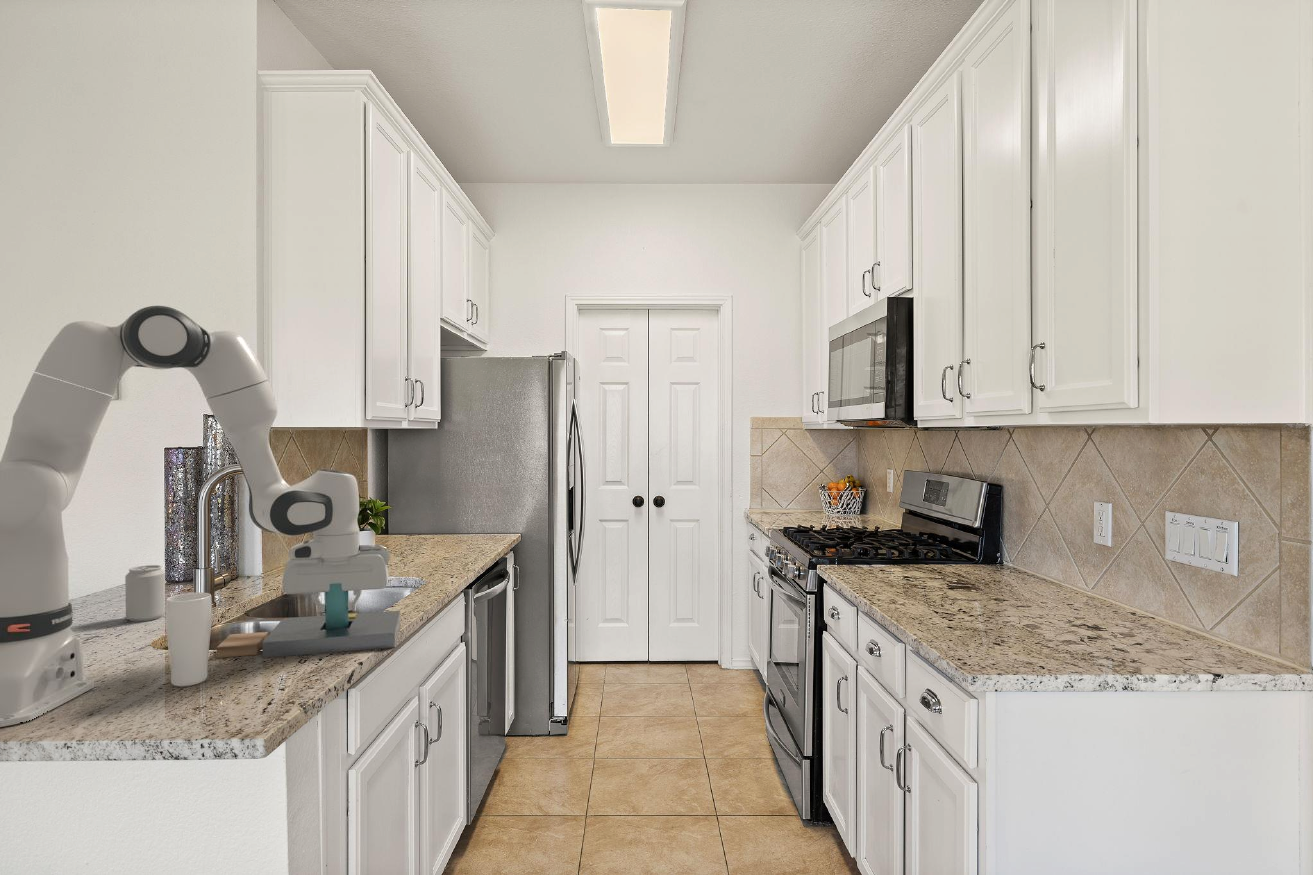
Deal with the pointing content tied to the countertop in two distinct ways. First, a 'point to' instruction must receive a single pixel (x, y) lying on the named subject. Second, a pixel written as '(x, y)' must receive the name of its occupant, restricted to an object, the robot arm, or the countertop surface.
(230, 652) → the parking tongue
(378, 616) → the grey flat block
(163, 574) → the can
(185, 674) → the drinking glass
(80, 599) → the countertop surface
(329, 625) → the barrel peg
